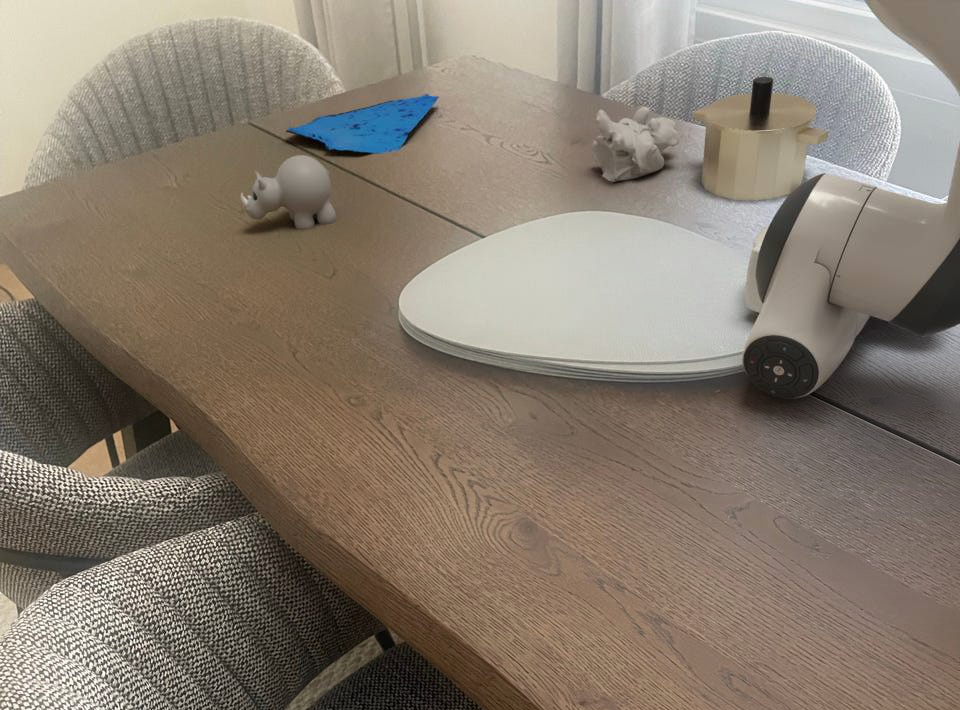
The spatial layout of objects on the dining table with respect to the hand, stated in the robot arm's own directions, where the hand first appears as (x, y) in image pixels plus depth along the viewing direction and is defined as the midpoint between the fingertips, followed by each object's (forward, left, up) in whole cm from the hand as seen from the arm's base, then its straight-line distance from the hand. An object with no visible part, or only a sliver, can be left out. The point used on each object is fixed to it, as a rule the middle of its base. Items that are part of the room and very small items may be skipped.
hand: (870, 235), depth 103 cm
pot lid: (-7, -28, +4) cm, 29 cm away
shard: (+27, -82, -5) cm, 87 cm away
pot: (-7, -28, -5) cm, 29 cm away
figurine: (+3, -40, -5) cm, 41 cm away
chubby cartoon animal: (+48, -54, -5) cm, 73 cm away
